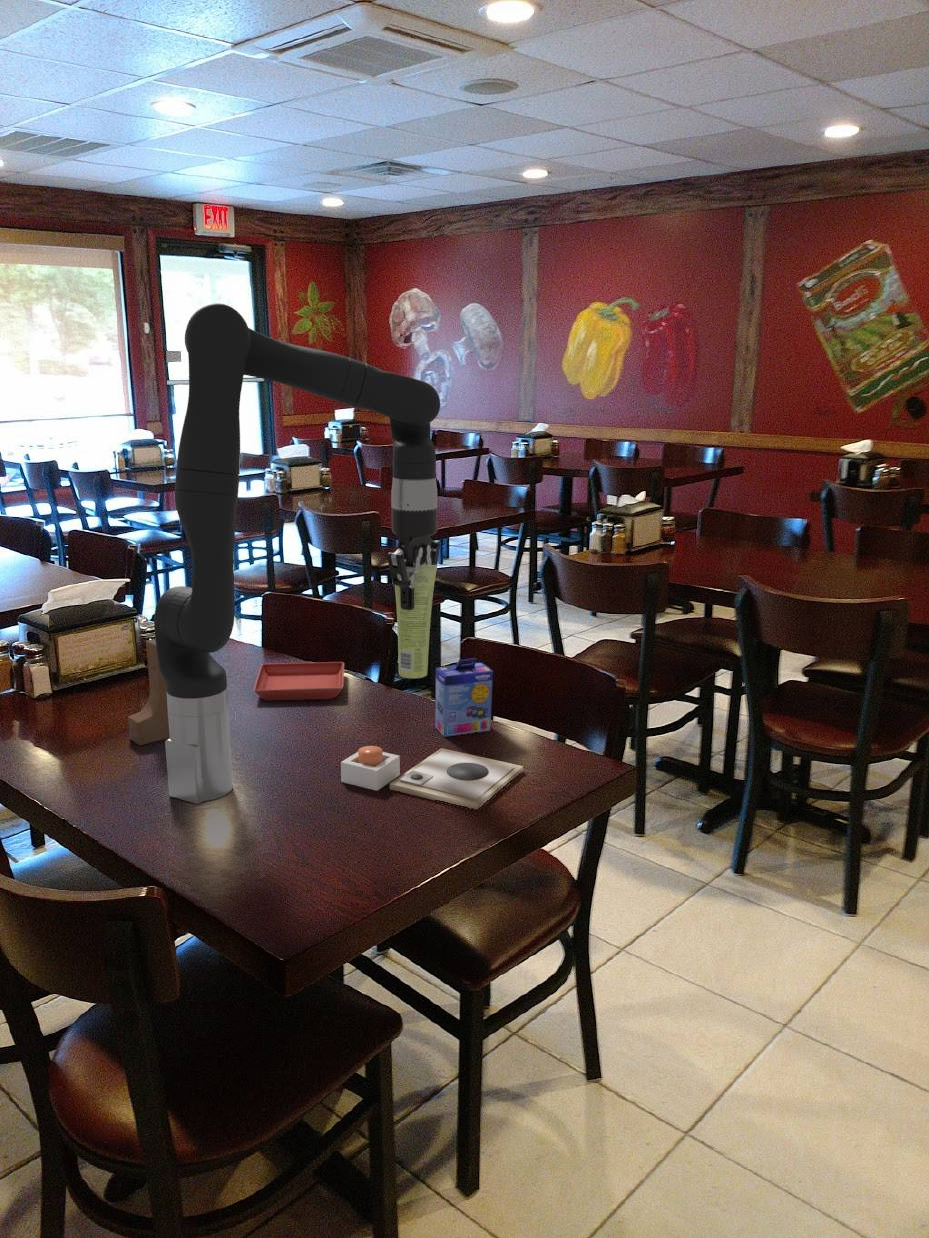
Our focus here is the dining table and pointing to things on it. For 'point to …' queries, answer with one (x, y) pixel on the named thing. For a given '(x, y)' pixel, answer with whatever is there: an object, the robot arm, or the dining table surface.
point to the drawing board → (456, 778)
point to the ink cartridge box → (463, 698)
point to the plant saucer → (300, 681)
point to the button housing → (370, 771)
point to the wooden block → (151, 706)
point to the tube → (415, 624)
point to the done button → (370, 755)
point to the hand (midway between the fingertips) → (414, 605)
